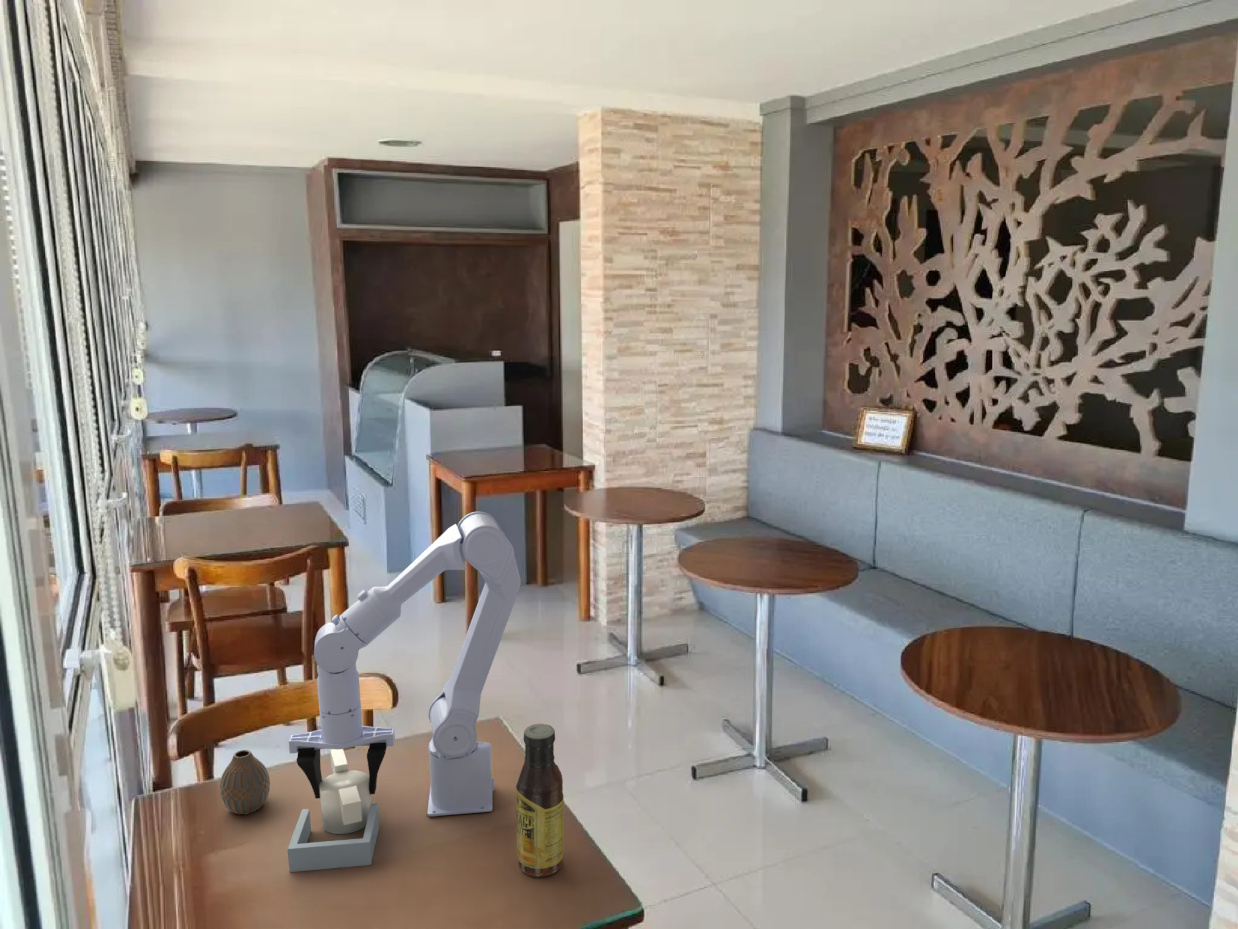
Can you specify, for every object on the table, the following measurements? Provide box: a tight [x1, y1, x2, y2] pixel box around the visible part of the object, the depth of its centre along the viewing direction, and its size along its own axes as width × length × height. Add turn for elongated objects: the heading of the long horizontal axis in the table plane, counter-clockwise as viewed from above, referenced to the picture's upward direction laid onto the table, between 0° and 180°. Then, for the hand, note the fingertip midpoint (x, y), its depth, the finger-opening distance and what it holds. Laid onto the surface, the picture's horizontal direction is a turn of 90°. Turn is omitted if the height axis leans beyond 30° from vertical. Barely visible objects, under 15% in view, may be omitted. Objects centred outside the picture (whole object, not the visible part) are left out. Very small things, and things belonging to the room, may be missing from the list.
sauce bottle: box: [515, 723, 565, 878], centre depth 122 cm, size 6×6×20 cm
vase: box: [219, 749, 271, 815], centre depth 138 cm, size 7×7×9 cm
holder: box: [287, 802, 380, 873], centre depth 128 cm, size 11×10×3 cm
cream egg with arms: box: [319, 749, 372, 835], centre depth 135 cm, size 17×7×7 cm, turn 23°
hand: (346, 792), depth 135 cm, fingers open, 7 cm apart
